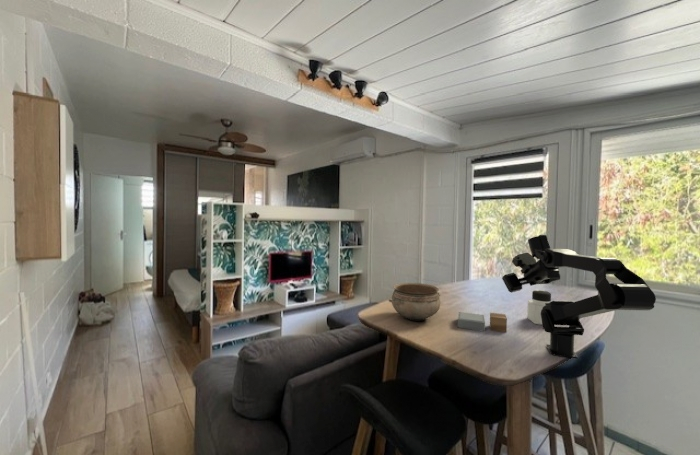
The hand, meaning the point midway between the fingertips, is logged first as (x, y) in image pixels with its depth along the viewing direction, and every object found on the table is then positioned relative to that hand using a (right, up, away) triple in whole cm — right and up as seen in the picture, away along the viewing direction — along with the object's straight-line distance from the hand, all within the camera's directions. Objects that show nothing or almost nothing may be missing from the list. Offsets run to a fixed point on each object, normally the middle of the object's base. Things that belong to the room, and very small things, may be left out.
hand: (520, 285), depth 110 cm
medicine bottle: (+9, -15, +2) cm, 17 cm away
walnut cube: (-12, -15, -6) cm, 20 cm away
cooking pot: (-39, -14, +5) cm, 42 cm away
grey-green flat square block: (-20, -14, -2) cm, 25 cm away
